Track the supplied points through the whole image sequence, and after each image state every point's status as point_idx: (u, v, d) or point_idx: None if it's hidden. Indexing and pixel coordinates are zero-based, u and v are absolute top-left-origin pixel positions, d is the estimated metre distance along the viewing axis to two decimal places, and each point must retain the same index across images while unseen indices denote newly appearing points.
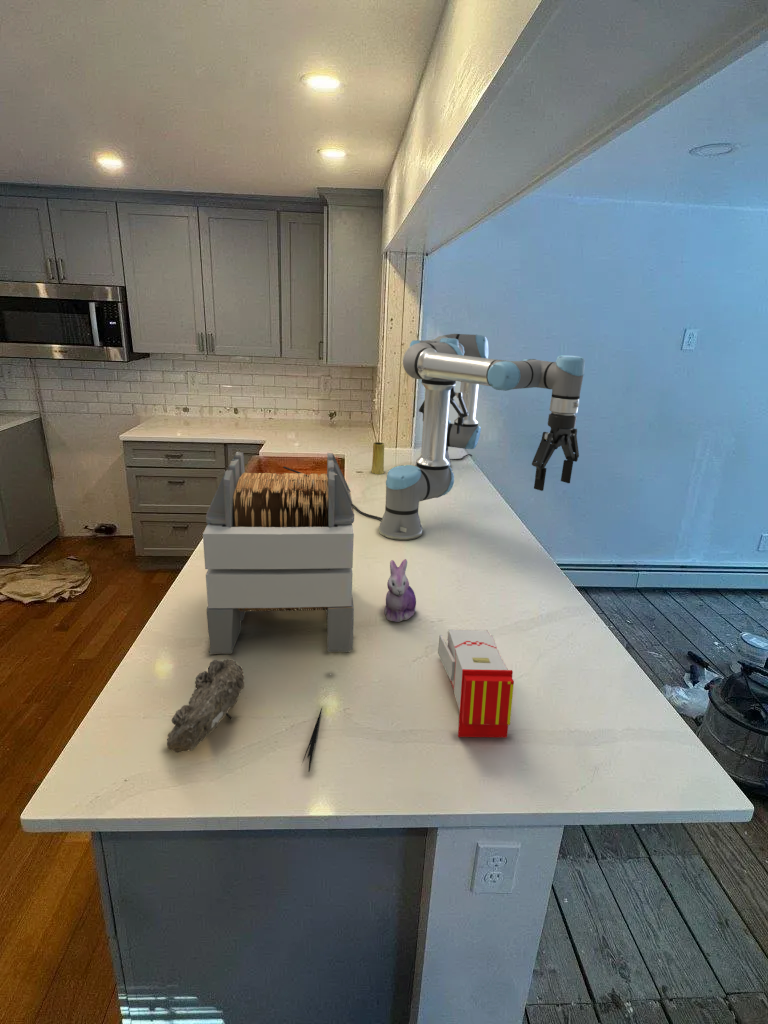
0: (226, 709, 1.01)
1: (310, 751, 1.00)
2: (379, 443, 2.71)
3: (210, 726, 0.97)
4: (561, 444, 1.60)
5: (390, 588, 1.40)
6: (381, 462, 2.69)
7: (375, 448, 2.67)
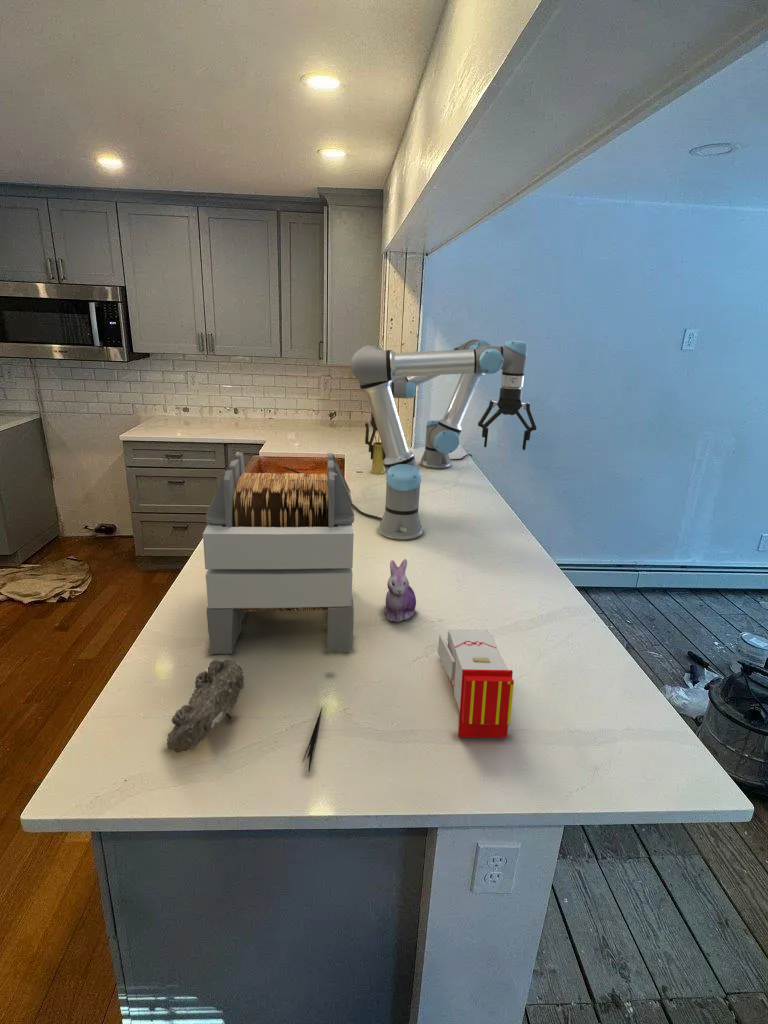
0: (226, 709, 1.01)
1: (310, 751, 1.00)
2: (379, 443, 2.71)
3: (210, 726, 0.97)
4: (508, 413, 1.97)
5: (390, 588, 1.40)
6: (381, 462, 2.69)
7: (375, 448, 2.67)
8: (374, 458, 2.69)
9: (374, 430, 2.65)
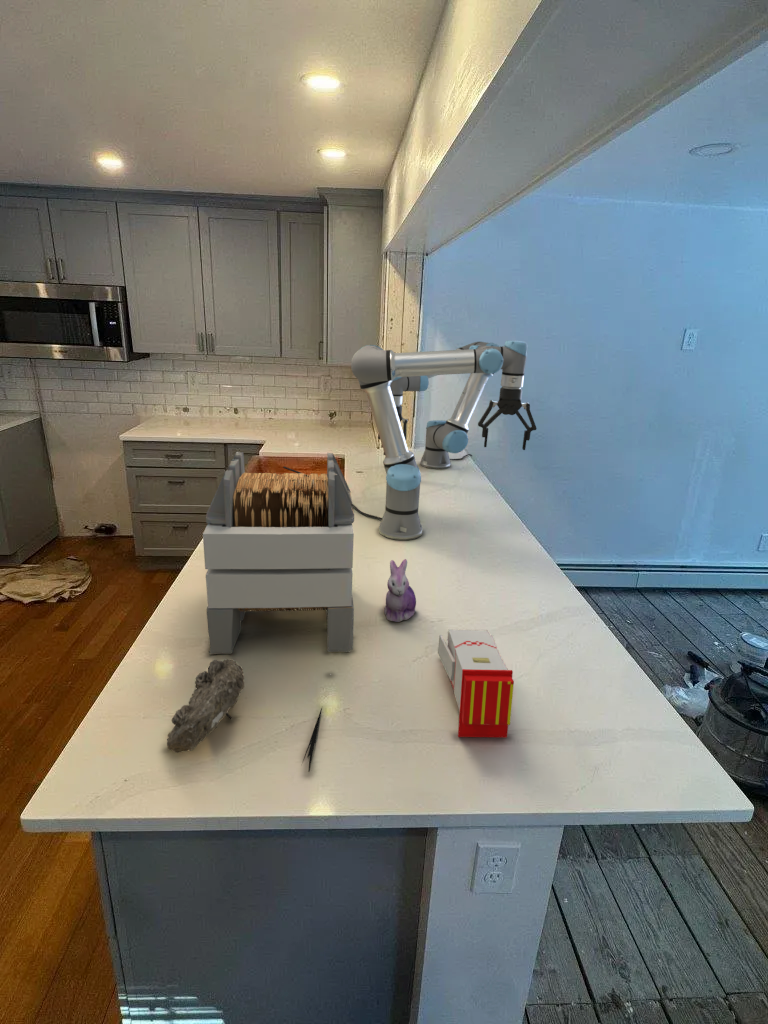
0: (226, 709, 1.01)
1: (310, 751, 1.00)
2: None
3: (210, 726, 0.97)
4: (508, 413, 1.97)
5: (390, 588, 1.40)
6: None
7: None
8: None
9: None
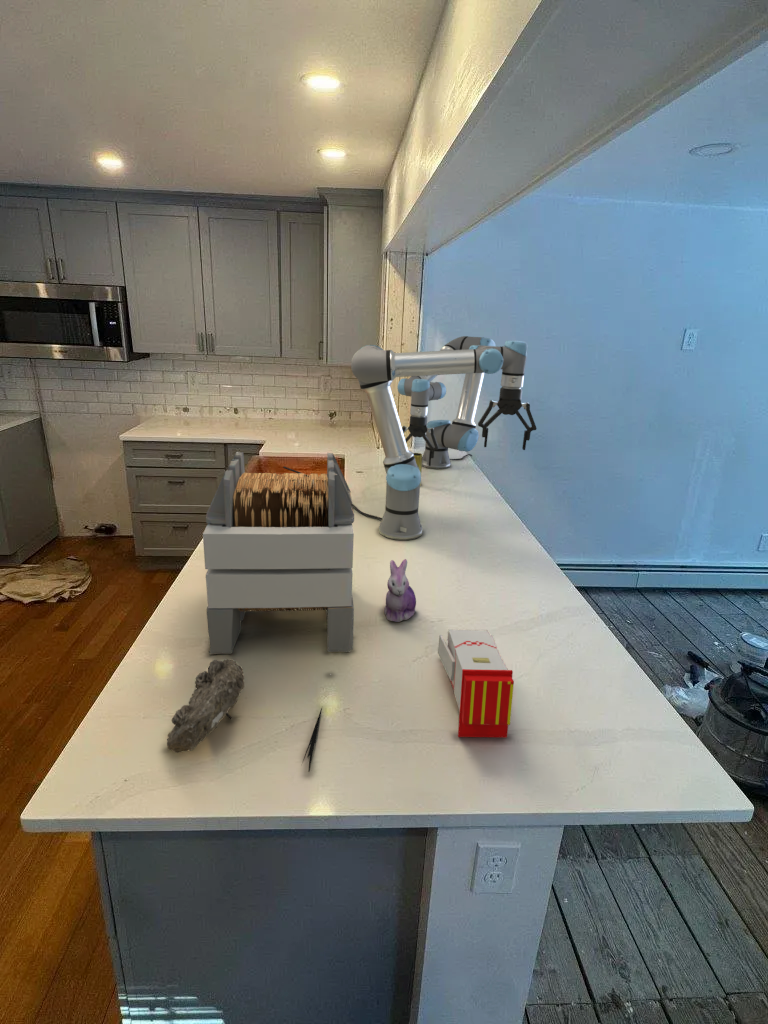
0: (226, 709, 1.01)
1: (310, 751, 1.00)
2: (416, 454, 2.54)
3: (210, 726, 0.97)
4: (508, 413, 1.97)
5: (390, 588, 1.40)
6: None
7: None
8: None
9: (410, 435, 2.47)
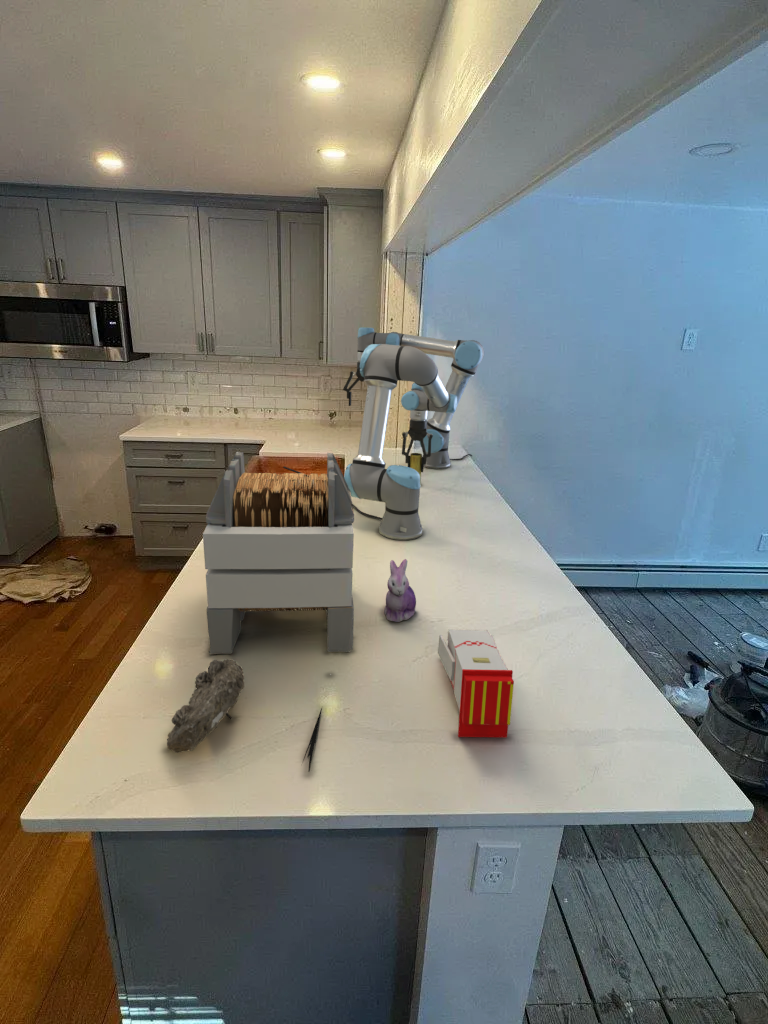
0: (226, 709, 1.01)
1: (310, 751, 1.00)
2: (416, 454, 2.54)
3: (210, 726, 0.97)
4: (416, 439, 2.48)
5: (390, 588, 1.40)
6: (419, 474, 2.53)
7: (412, 459, 2.50)
8: None
9: (357, 379, 2.71)
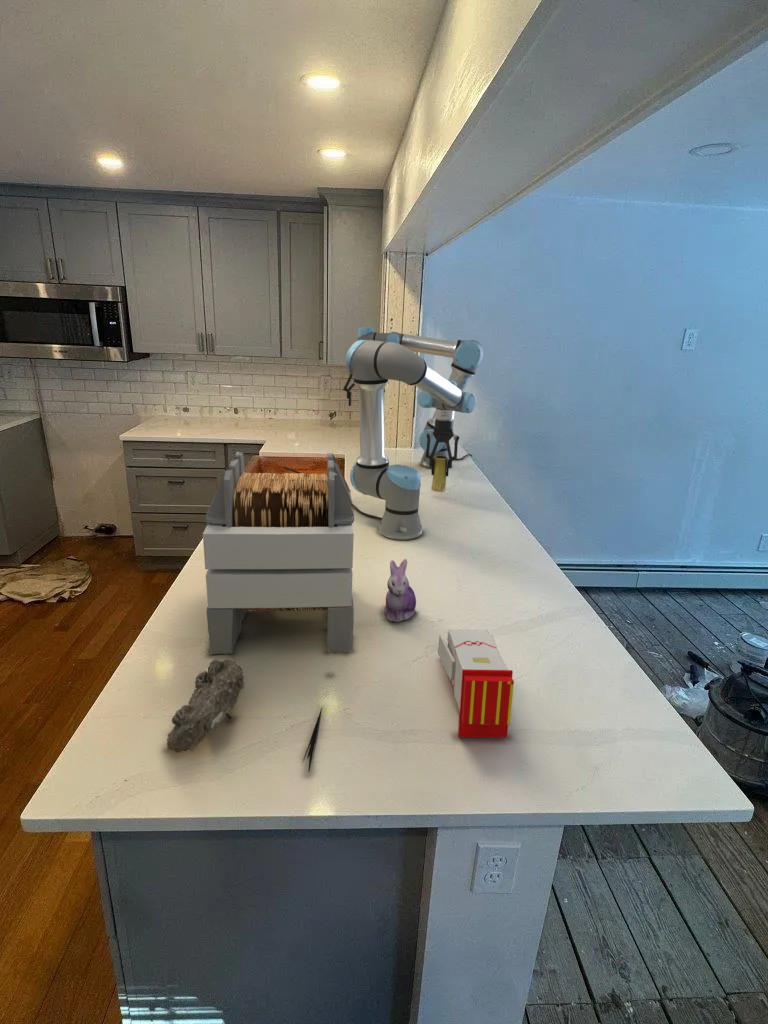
0: (226, 709, 1.01)
1: (310, 751, 1.00)
2: (441, 456, 2.36)
3: (210, 726, 0.97)
4: (442, 441, 2.31)
5: (390, 588, 1.40)
6: (443, 478, 2.35)
7: (437, 462, 2.33)
8: (436, 474, 2.34)
9: None
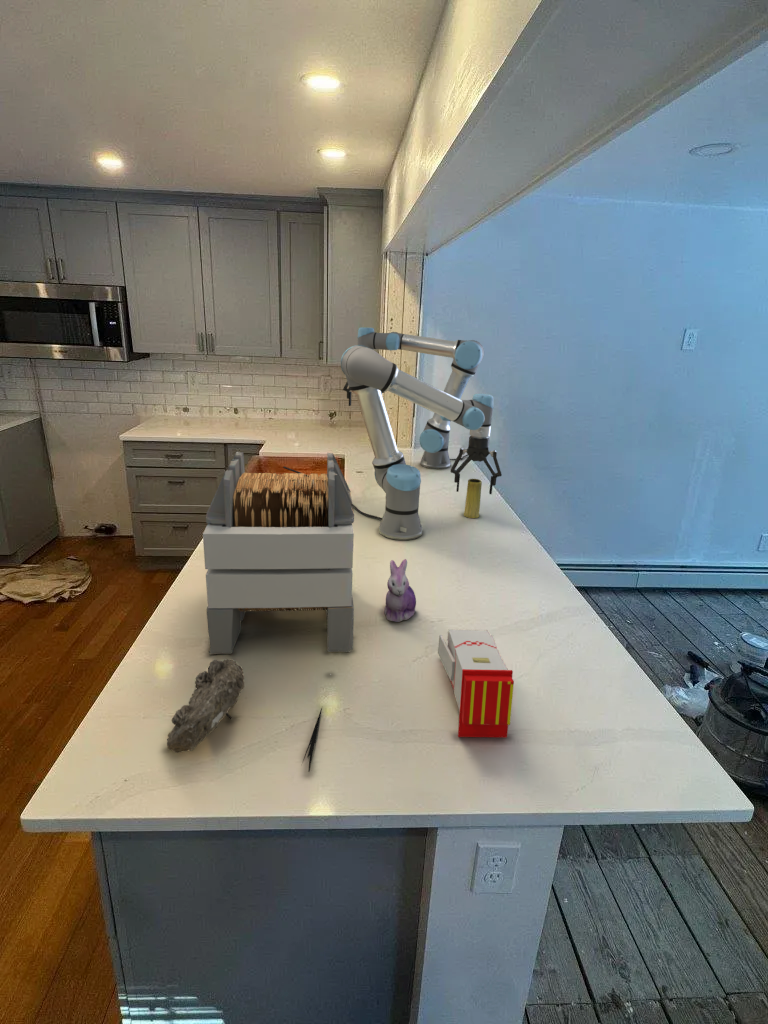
0: (226, 709, 1.01)
1: (310, 751, 1.00)
2: (474, 480, 2.19)
3: (210, 726, 0.97)
4: (476, 459, 2.12)
5: (390, 588, 1.40)
6: (477, 504, 2.17)
7: (471, 487, 2.15)
8: (469, 499, 2.17)
9: None
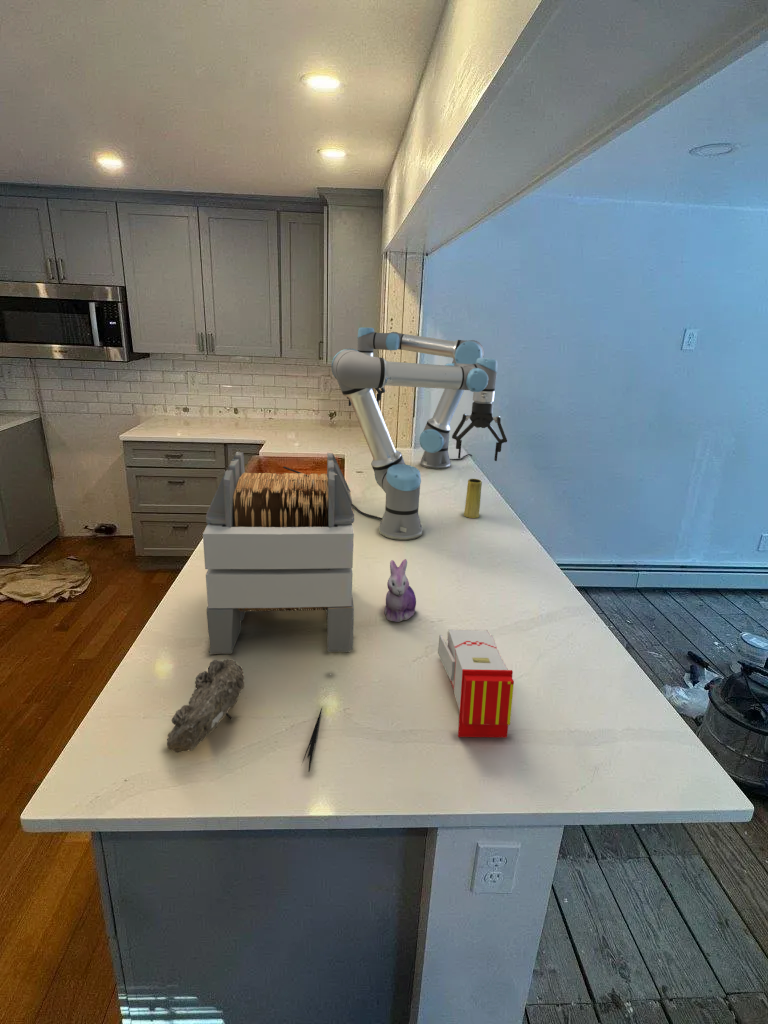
0: (226, 709, 1.01)
1: (310, 751, 1.00)
2: (474, 480, 2.19)
3: (210, 726, 0.97)
4: (480, 426, 2.08)
5: (390, 588, 1.40)
6: (477, 504, 2.17)
7: (471, 487, 2.15)
8: (469, 499, 2.17)
9: None
